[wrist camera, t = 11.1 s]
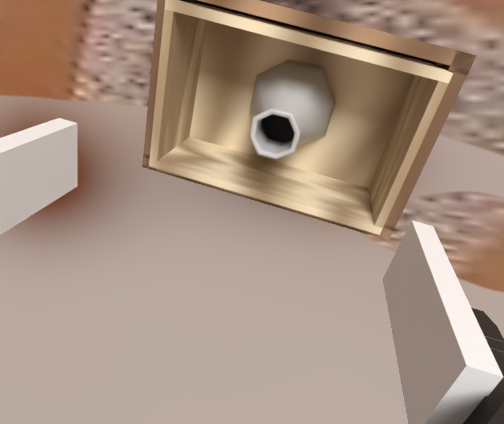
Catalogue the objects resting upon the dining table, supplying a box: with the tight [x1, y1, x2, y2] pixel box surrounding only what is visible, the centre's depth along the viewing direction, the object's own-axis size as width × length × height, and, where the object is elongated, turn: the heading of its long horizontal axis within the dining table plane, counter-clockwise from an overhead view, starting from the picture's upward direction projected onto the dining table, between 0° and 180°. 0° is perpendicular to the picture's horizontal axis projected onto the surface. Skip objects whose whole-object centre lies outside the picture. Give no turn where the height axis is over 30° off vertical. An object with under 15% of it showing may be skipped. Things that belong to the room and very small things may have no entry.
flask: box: [249, 60, 335, 160], centre depth 28 cm, size 7×7×10 cm
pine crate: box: [149, 0, 453, 235], centre depth 29 cm, size 18×12×8 cm, turn 77°
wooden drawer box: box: [143, 0, 476, 240], centre depth 31 cm, size 21×14×7 cm, turn 77°
